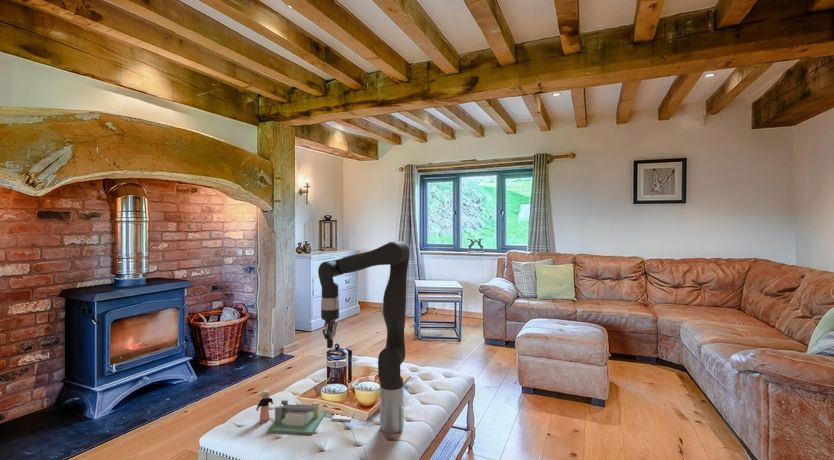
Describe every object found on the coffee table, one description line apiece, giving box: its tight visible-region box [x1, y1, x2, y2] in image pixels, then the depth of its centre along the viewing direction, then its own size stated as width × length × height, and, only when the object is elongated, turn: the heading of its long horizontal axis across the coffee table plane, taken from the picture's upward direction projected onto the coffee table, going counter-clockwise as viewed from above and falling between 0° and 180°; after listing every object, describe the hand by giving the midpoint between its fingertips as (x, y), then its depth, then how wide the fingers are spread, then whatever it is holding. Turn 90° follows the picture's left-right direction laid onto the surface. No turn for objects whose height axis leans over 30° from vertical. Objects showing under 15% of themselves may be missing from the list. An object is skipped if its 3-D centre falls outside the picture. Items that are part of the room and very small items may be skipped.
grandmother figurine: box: [255, 389, 274, 424], centre depth 161 cm, size 8×4×13 cm, turn 153°
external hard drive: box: [331, 413, 353, 423], centre depth 167 cm, size 2×8×12 cm
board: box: [267, 399, 326, 435], centre depth 159 cm, size 18×16×8 cm
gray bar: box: [278, 403, 317, 412], centre depth 159 cm, size 16×4×2 cm, turn 85°
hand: (330, 347), depth 166 cm, fingers closed
